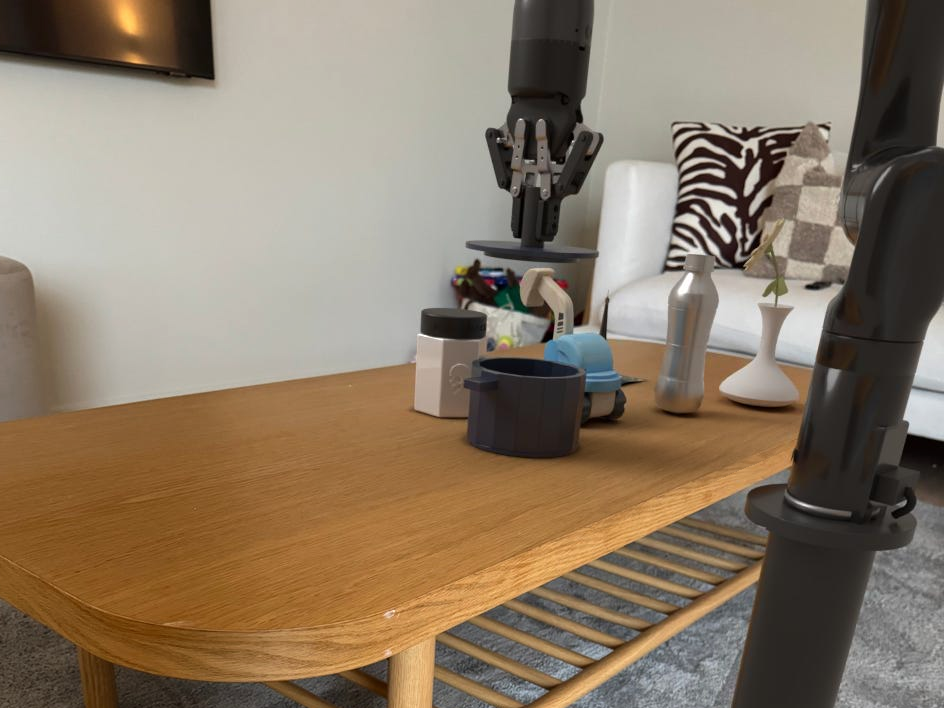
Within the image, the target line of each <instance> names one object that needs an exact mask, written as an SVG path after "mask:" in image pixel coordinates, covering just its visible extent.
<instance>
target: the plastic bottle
mask: <svg viewBox="0 0 944 708" xmlns="http://www.w3.org/2000/svg"><path fill="white" fill-rule="evenodd" d="M684 261H685V262H684V264H683V268H682V269H683V270H684V274H683V275H682V276H681V278H680V279H679V280H678V281H677V282H676V283H675V285H673V287H671V290H670V292H669V294H668V298H667V328H666V329H667V330H666V342H665V349H664V354H663V358H662V362H661V367H660V371H659V374H658V377H657V380H656V383H655V387H654V390H653V391H654V396H653V397H654V402H655V405H656V407H657V408H658V409H661V410H663V411H666V412H668V413H671V414H677V415H680V414H690V413H696V412H697V411H698V410H699V409H700V407H701V406H702V404H703V400H704V397H705V379H704V377H705V366H706V355H707V350H708V343H709V340H710V336H711V332H712V329H713V324H714V320H715V317H716V314H717V310H718V307H719V304H720V299H719V292H718V290H717V287H716V283H714V281H713V278H712V273H714V272H715V262H716V256H714V255H708V254H697V253H687V254H686V256H685V260H684Z"/></svg>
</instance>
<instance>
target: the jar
mask: <svg viewBox="0 0 944 708" xmlns="http://www.w3.org/2000/svg"><path fill="white" fill-rule="evenodd" d="M419 327H420V330H419V331H420V332H418V333H417V334H416V335H417V337H416V338H417V339H416V359H415V361H416V362H415V378H414V381H415V383H414V401H413V402H414V404H413V409H414V411H416V412H420V413H423V414H426V415H430V416H432V417H435V418H440V419H441V418H442V419H444V418H447V419H448V418H449V419H450V418H455V419H456V418H459V419H460V418H463V419H465V418H467V419H468V411H469V397H470V389H466V388H464V379H465V378H471V368H472V361H475V360H477V359H480V358H487V353H488V352H487V351H488V350H487V349H488V335H487V328H488V314H486V313H485V312H481V311H477V310H472V309H464V308H455V307H453V308H452V307H427V308H424V309H422V310H421V311H420V326H419Z"/></svg>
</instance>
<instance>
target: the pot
mask: <svg viewBox="0 0 944 708" xmlns="http://www.w3.org/2000/svg"><path fill="white" fill-rule="evenodd" d="M586 375H587V373H586V369H584V368H580V367H577V366H575V365H572V364H567V363H563V362H558V361H552V360H545V359H544V358H538V357H537V358H536V357H523V356H491V357H490V356H489V357H486V358H480V359H477V360H475V361H472V368H471V378H465V379H464V388H466V389H470V397H469V411H468V418H467V424H466V425H467V427H466V441H467V443H469V444H470V445H471V446H473V447H475V448H476V449H480V450H482V451H485V452H489V453H493V454H496V455H497V454H498V455H503V456H510V457H519V458H533V459H537V458H539V459H541V458H542V459H543V458H545V459H546V458H556V457H563V456H567V455H570V454H572V453H574V452H576V451H577V448H578V445H579V440H580V433H581V425H582V424H581V417H582V408H583V400H584V392H585V384H586Z"/></svg>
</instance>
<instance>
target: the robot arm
mask: <svg viewBox="0 0 944 708" xmlns="http://www.w3.org/2000/svg"><path fill="white" fill-rule="evenodd" d="M865 1H866V2H865V13H864V22H863V23H864V24H863V34H862V49H861V66H860V67H861V68H860V80H859V81H860V82H859V90H858V97H857V105H856V111H855V116H854V122H853V126H852V127H853V128H852V132H851V137H850V143H849V149H848V153H847V158H846V163H845V167H844V172H843V178H842V183H841V187H840V195H839V203H838V204H839V205H838V214H839V221H840V225H841V229H842V231H843V233H844V236H845V238H846V239H847V240H848V242H849V243H850V244H851V245H852V246H853V247H854V249H853V253H852V256H851V261H850V264H849V268H848V271H847V275H846V279H845V281H844V282H843V285H842V287H841V288H840V290H839V292H837V294H836V295H835V296H834V297H832V298H831V300H830V301H829V302H828V304H827V307H826V310H825V314H824V318H823V323H822V327H821V328H822V329H821V332H820V336H819V337H820V338H819V342H818V346H817V350H816V355H815V361H814V364H813V369H812V373H811V377H810V382H809V386H808V391H807V395H806V400H805V404H804V409H803V413H802V419H801V422H800V426H799V430H798V435H797V440H796V443H795V444H796V445H795V446H794V448H793V450H792V452H791V453H792V454H791V457H790V462H789V463H791V468H790V471H789V478H788V479H787V488H786V490H785V494H784V498H783V501H784V503H785V504H786V505H788V506H789V507H791V508H793V509H795V510H797V511H799V512H802V513H805V514H808V515H812V516H815V517H820V518H824V519H830V520H837V521H847V522H852V523H856V524H864V523H866V522H868V521H871V520H873V519H876V518H878V517H880V516H882V515H884V514H885V513H886V510H887V506H888V505H890V506H894V505H898V504H901V503H903V502H905V501H906V503H905V504H904V505H902V506H900V507H901V508H899V509H896V510H895V511H893V512H891V515H892V517H893V518H894V519H898V518H899V517H902V516H904V515H906V514H908V513H912V512H913V510H914V509H915V508H916V506H917V501H918V500H917V496H916V490H917V486H918V483H919V480H920V475H921V471H919V470H915V469H910V468H906V467H902V466H900V465H899V464H900V462H901V458H902V454H903V451H904V446H905V443H906V440H907V436H908V432H909V428H910V422H909V421H908V420H906V419H904V418H905V415H906V410H907V407H908V402H909V399H910V396H911V391H912V389H913V384H914V382H915V377H916V374H917V373H916V372H917V370H918V365H919V362H920V358H921V355H922V351H923V347H924V344H925V342H924V341H925V340H926V336H927V333H928V329H929V326H930V324H931V322H932V321H933V319H934V318H935V316H936V315H937V314H938V312H939V310H940V309H941V307H942V305H943V303H944V147H941V146H938V144H937V143H938V132H939V121H940V111H941V103H942V102H941V101H942V97H943V92H944V91H943V90H944V0H865ZM513 4H514V5H513V12H512V23H511V37H510V50H509V64H508V65H509V66H508V75H507V76H508V77H507V91H508V94H509V96H510V98H511V102H510V107H509V109H508V112H507V113H506V114H507V115H506V118H505V119H506V121H504V122H503V123H502V124H500V125H499V126H498V127H488V128H487V129H486V130H485V133H484V136H485V141H486V145H487V149H488V152H489V155H490V160H491V164H492V168H493V172H494V175H495V180H496V183H497V187H498V188H499V189H501V190H505V191H506V192H508V193H509V194H510V195H511V197H512V204H511V206H512V207H511V216H510V219H511V220H510V230H511V232H512V237H513V238H514V239H518V240H521V234H522V222H523V210H524V198H525V187H526V186H533V187H537V181H538V176H540V184H539V185H540V186H539V187H540V194H541V198H542V199H543V201H540V200H539V201H538V212H537V223H536V234H535V238H536V240H537V241H542V242H544V243H551V242H554V240H555V237H557V235H558V233H559V224H560V216H561V215H560V214H561V205H562V202H563V200H564V199H565V198H567V197H570V196H576V195H578V194H580V191H581V189H582V187H583V185H584V183H585V181H586V179H587V177H588V175H589V172H590V170H591V168H592V166H593V165H594V162H595V161H596V159H597V156H598V154H599V152H600V150H601V149H602V147H603V144H604V140H605V137H604V134H603V133H601V132H599V131H598V132H597V131H595V130H594V131H593V130H592V129H591V128H589V127H588V126H587V125H586V124H584V114H583V112H582V101H583V100H584V99H585V97H586V96H587V88H588V79H589V69H590V60H591V49H592V42H593V41H592V39H593V33H594V24H595V23H594V22H595V0H514V3H513ZM571 147H572V148H571ZM570 148H571V151H570ZM526 161H529V162H526Z"/></svg>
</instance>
